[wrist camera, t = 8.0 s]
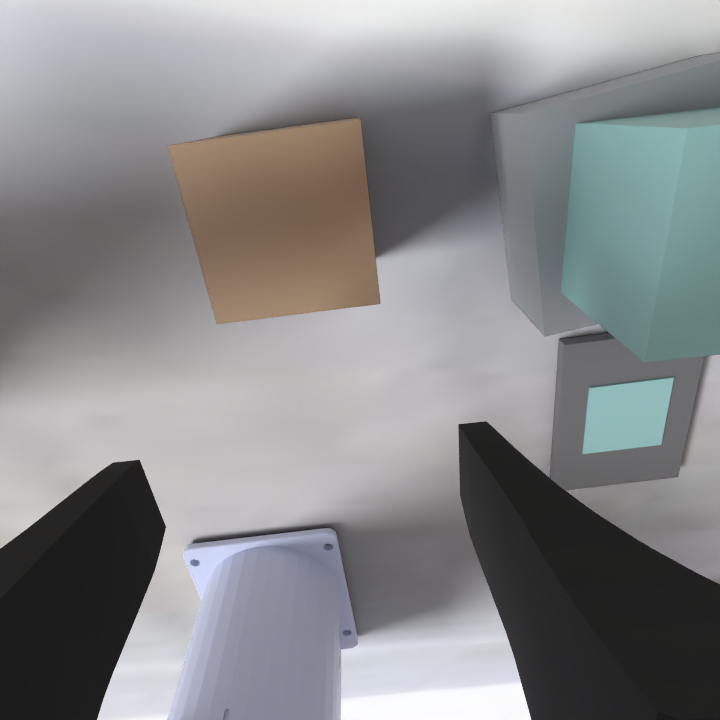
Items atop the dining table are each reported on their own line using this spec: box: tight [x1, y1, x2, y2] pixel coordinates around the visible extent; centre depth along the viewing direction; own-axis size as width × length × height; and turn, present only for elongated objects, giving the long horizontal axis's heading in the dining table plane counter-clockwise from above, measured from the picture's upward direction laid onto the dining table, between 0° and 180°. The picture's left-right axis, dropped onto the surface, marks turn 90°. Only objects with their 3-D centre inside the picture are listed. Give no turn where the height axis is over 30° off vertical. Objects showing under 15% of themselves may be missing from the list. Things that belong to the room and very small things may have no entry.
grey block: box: [490, 52, 720, 336], centre depth 17 cm, size 7×7×4 cm
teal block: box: [561, 107, 720, 362], centre depth 13 cm, size 5×5×5 cm
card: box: [550, 333, 704, 490], centre depth 22 cm, size 8×6×1 cm
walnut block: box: [168, 118, 380, 324], centre depth 16 cm, size 5×5×5 cm
